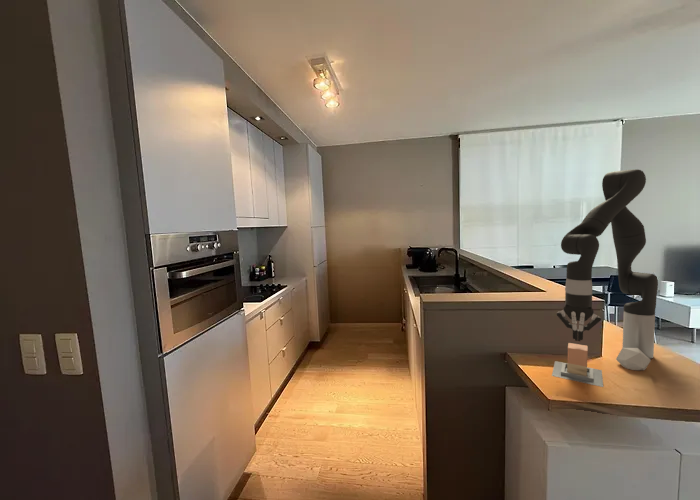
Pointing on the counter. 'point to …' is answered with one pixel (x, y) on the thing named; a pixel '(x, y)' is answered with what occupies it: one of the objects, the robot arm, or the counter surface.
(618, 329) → the counter surface
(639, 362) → the grey faceted rock
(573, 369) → the base block
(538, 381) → the counter surface
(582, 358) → the top block
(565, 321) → the robot arm
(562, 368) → the base plate
